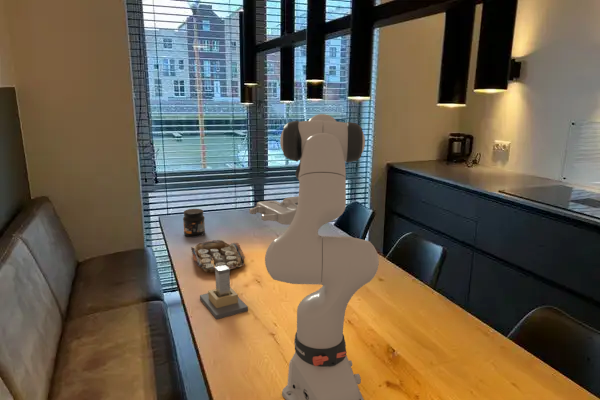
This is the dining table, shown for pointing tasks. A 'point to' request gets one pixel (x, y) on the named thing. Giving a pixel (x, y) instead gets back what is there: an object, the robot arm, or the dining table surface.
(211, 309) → the keeper plate
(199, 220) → the supplement container
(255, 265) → the dining table surface
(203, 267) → the baking tray
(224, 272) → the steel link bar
